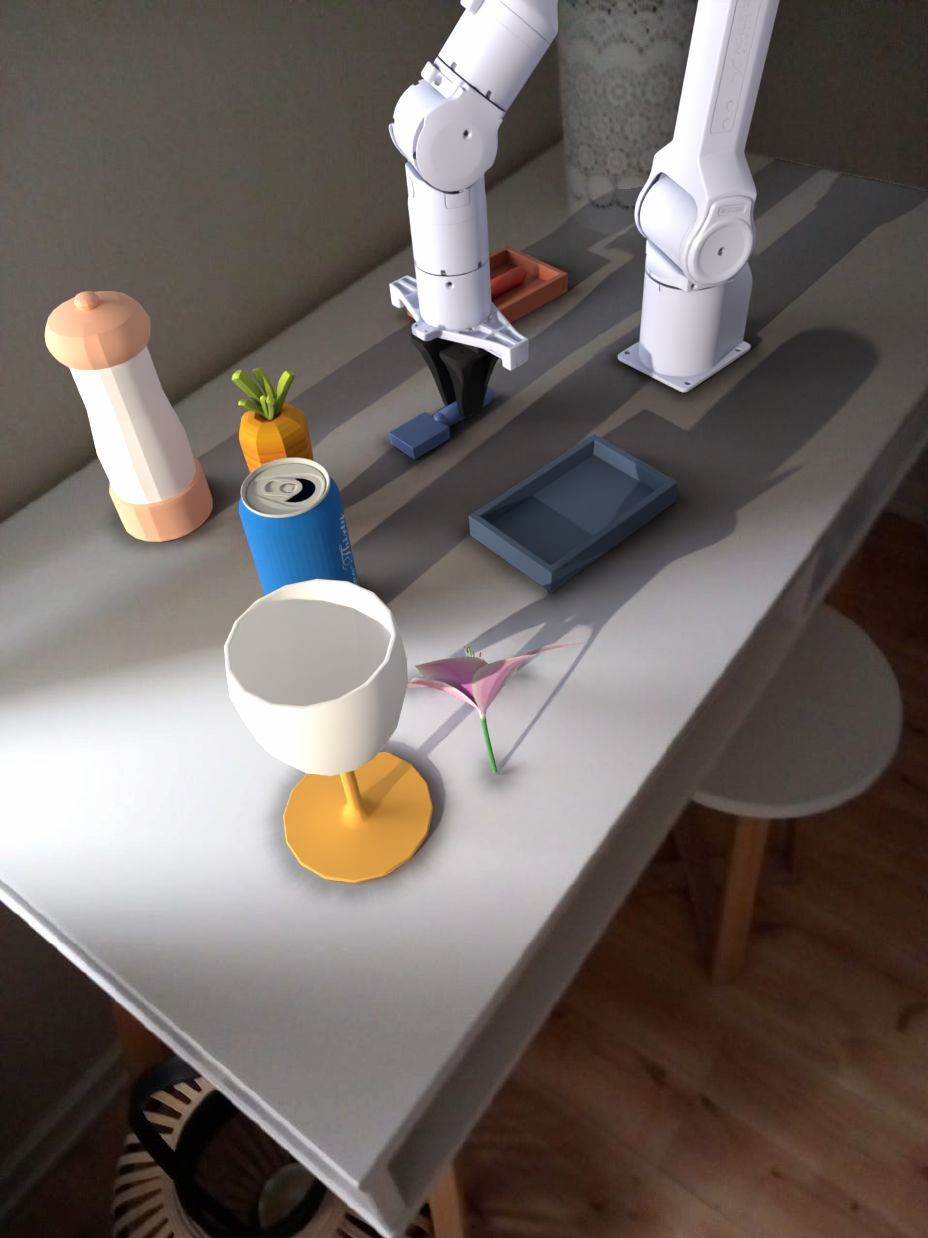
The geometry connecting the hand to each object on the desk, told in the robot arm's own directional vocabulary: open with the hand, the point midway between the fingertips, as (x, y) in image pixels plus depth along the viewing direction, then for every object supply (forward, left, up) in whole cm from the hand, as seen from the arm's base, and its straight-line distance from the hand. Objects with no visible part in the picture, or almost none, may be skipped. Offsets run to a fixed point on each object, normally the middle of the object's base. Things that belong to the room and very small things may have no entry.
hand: (463, 406), depth 84 cm
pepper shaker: (+25, -8, -1) cm, 26 cm away
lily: (+21, +25, -1) cm, 33 cm away
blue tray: (+3, +16, -1) cm, 16 cm away
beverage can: (+23, +10, -1) cm, 25 cm away
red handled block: (-14, -12, 0) cm, 18 cm away
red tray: (-14, -12, -1) cm, 18 cm away
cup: (+31, +25, -1) cm, 40 cm away
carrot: (+19, +2, -1) cm, 19 cm away
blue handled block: (+2, 0, -1) cm, 2 cm away
